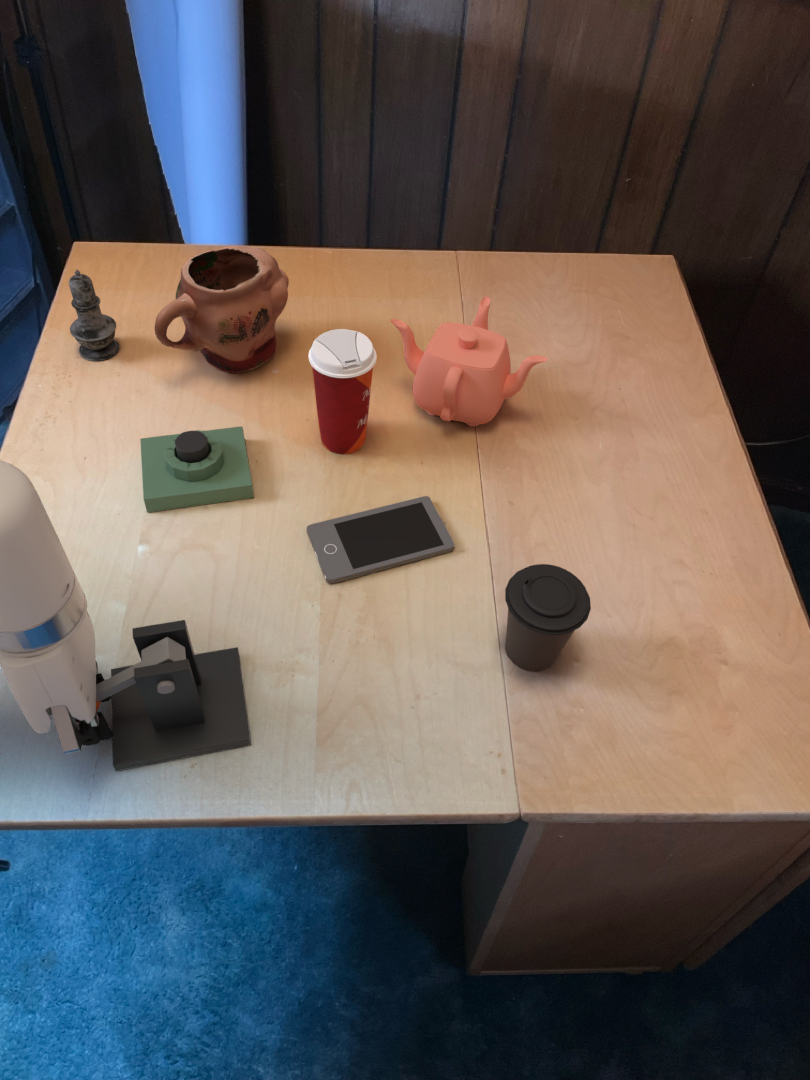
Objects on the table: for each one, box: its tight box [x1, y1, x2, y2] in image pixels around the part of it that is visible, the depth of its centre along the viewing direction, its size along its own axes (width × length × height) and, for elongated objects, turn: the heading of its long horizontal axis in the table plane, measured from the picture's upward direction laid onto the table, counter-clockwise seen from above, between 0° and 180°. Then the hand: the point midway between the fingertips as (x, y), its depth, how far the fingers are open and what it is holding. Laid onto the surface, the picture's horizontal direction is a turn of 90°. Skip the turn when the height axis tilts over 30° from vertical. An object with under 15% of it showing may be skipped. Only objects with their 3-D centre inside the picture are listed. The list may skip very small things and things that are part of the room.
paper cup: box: [308, 328, 378, 455], centre depth 95 cm, size 8×8×14 cm
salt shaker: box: [68, 269, 121, 362], centre depth 104 cm, size 6×6×12 cm
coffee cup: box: [504, 563, 592, 673], centre depth 78 cm, size 8×8×10 cm
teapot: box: [389, 296, 549, 427], centre depth 102 cm, size 14×14×11 cm
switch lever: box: [96, 637, 186, 712], centre depth 70 cm, size 12×3×3 cm, turn 104°
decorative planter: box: [154, 245, 290, 374], centre depth 104 cm, size 20×12×14 cm, turn 141°
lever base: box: [110, 619, 252, 772], centre depth 72 cm, size 12×10×11 cm
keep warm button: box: [175, 430, 209, 463], centre depth 92 cm, size 4×4×2 cm
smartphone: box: [306, 495, 455, 584], centre depth 90 cm, size 15×8×1 cm, turn 111°
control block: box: [139, 426, 255, 513], centre depth 94 cm, size 12×10×4 cm
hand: (94, 718), depth 73 cm, fingers closed on switch lever, 3 cm apart
